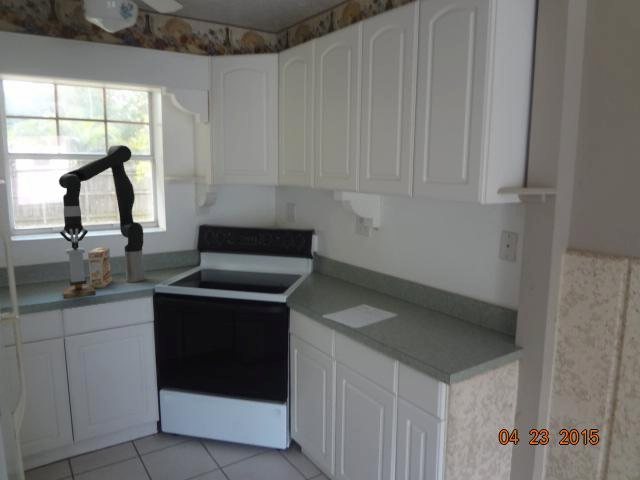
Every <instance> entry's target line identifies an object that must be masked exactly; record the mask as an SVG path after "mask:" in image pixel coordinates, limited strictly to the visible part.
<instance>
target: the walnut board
mask: <svg viewBox="0 0 640 480" xmlns="http://www.w3.org/2000/svg"><path fill="white" fill-rule="evenodd" d="M95 295H96V291H95V288H94V286H93V285H91V284H89V285H87V284H86V285H82V290H75V286H70V287H63V288H62V297H63V299H73V298H80V297H81V298H82V297H89V296H95Z"/></svg>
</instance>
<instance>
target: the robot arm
mask: <svg viewBox="0 0 640 480" xmlns="http://www.w3.org/2000/svg"><path fill="white" fill-rule="evenodd" d="M131 158H132V150H131V148H129V146H127V145H119V144H118V145H117V144H116V145H110V147H109V148H108V150H107V155H105V156H103V157H101V158H98V159H96V160H93V161H90V162H87V163H86V164H83V165H82V166H80V167H78V168H77V169H73V170H71V171H69V172H66V173H63V175H61V176H60V177H59V179H58V184H59V186H60V187H62V188H64V189H66V193H65V194H64V195H63V197H62V201H63V219H64V220H63V221H64V227H63V229H62V230H60V231H59V235H60V236H62V237H63V238H64V239H65V240H66V241H67V242H71V248H74V250H75V249H77V248H79V242H81V241H82V240H83V239H84V238H85V236H86V235H87V234H88V232H89V231H88V230H87V229H86V228H84V226H83V224H82V223H83V222H82V210H81V209H82V208H81V205H80V194H81V189H82V188H81V187H82V184H81V183H82V182H87V181H89V180H91V179H93V178H94V177H96V176H98V175H99V174H102V173H104V171H107V170H108V169H111V173H112V177H113V179H112V180H113V183H114V190H115V198H116V201H117V208H118V213H119V215H118V216H119V227H120V233H121V235H122V236H123V237H124V238H126V239H127V244H125V246H124V258H125V259H124V260H125V262H124V263H125V274H126V277H125V278H126V282H130V283H137V282H141V281H142V282H143V281H145V275H146V274H145V264H144V258H143V246H144V229H143V225H142V224H141V223H139V222H137V221H136V222H135V221H134V218H133V217H134V216H133V207H134V203H135V201H136V200H135V190H134V185H133V183H132V182H131V179H130V178H129V176H128V175H127V172H126V171H125V166H124V163H127V162H128V161H129V160H131ZM66 233H67V235H69V236H70V237H68V236H67V235H66ZM81 233H82V234H81ZM80 234H81V235H80ZM79 235H80V236H79Z"/></svg>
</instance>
